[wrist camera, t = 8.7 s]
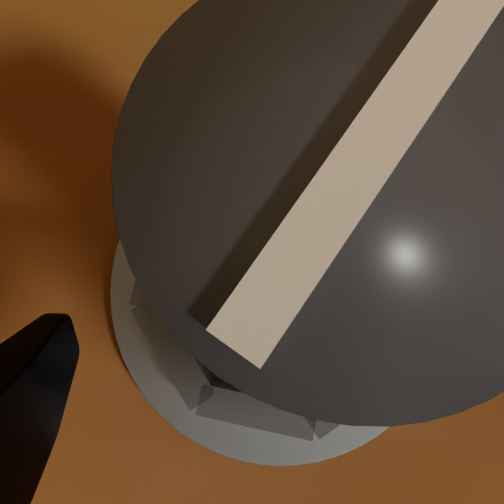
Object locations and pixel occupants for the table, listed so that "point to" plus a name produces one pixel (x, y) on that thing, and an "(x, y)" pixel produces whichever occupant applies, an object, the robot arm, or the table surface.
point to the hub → (214, 392)
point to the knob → (324, 201)
